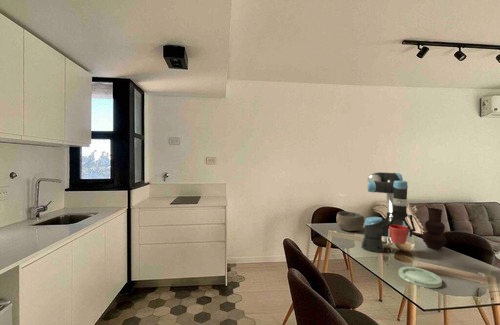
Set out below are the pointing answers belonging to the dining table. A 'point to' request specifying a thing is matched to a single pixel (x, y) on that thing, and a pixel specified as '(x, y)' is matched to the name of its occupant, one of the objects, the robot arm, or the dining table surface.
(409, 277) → the round tray
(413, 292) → the dining table surface
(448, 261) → the dining table surface
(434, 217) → the vase
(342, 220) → the bowl
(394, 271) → the dining table surface
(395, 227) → the flower pot
